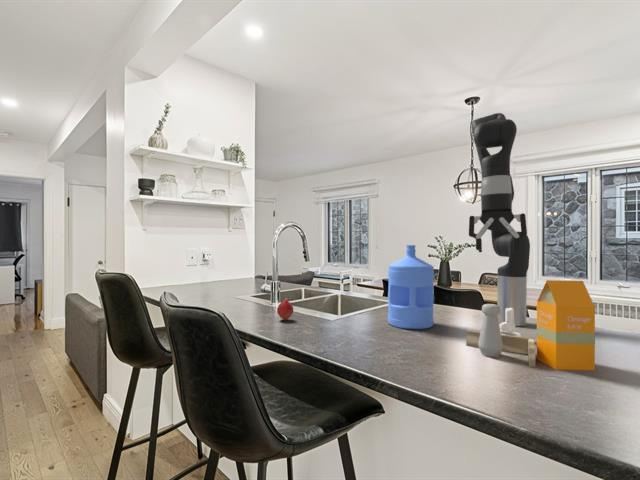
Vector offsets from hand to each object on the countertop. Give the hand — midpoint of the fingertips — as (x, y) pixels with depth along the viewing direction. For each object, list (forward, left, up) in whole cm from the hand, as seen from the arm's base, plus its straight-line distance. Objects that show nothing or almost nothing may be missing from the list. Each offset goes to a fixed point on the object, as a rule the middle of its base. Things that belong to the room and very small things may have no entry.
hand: (497, 252), depth 97 cm
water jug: (-15, -28, -27) cm, 41 cm away
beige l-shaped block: (+7, +1, -26) cm, 27 cm away
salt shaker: (+8, -1, -27) cm, 28 cm away
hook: (-13, +3, -27) cm, 30 cm away
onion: (+3, -69, -27) cm, 74 cm away
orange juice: (+7, +15, -27) cm, 31 cm away
